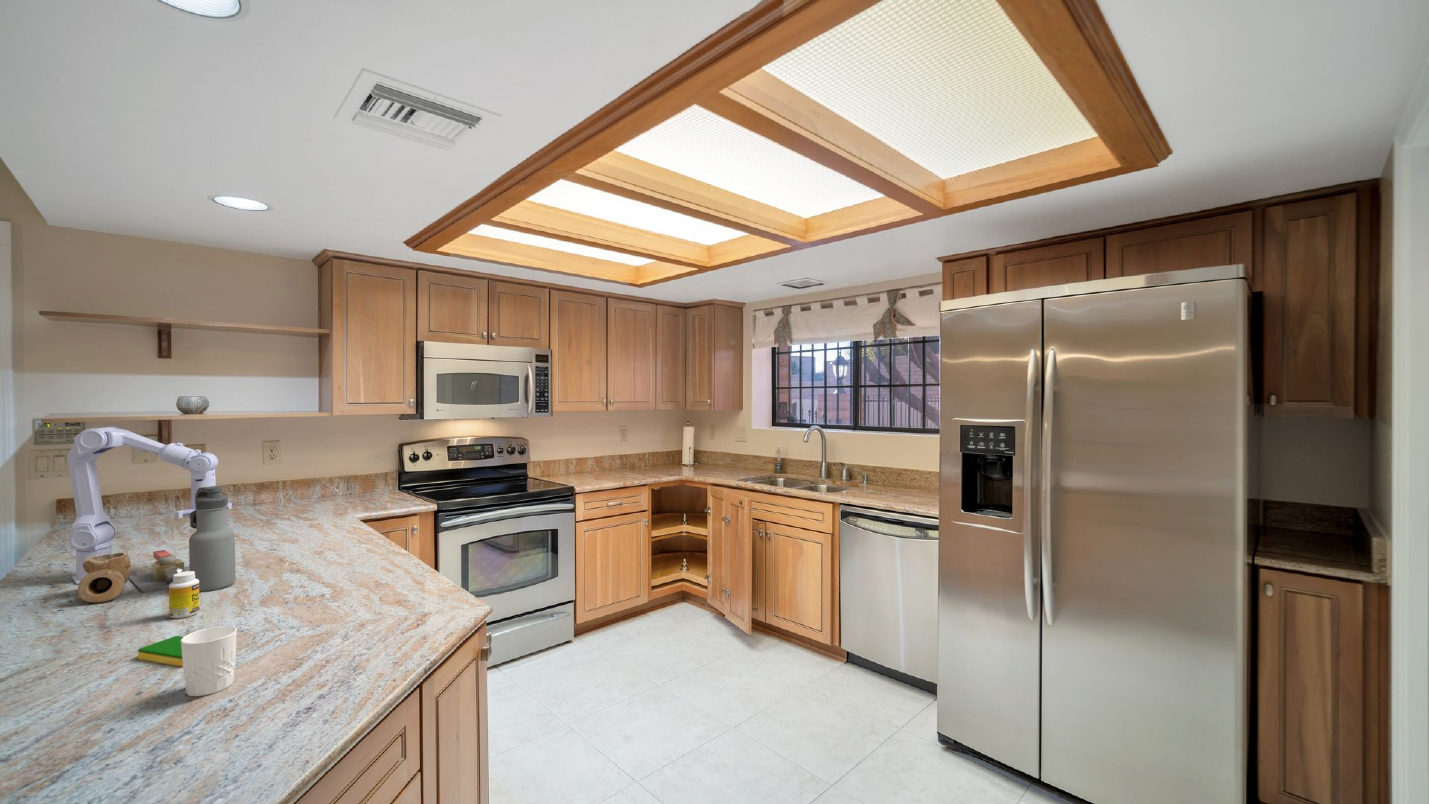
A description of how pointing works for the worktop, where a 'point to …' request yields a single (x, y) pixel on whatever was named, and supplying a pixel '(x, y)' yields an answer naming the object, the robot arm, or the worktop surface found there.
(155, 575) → the valve body
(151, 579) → the mat
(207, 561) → the water bottle
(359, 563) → the worktop surface
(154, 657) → the dish sponge
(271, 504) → the worktop surface
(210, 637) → the white cup
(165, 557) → the lever
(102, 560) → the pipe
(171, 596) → the supplement bottle
